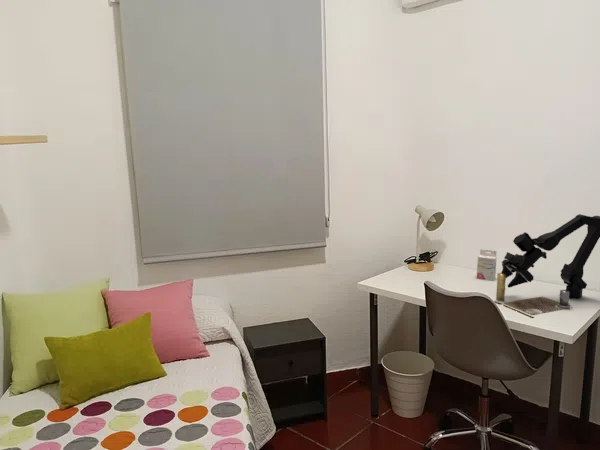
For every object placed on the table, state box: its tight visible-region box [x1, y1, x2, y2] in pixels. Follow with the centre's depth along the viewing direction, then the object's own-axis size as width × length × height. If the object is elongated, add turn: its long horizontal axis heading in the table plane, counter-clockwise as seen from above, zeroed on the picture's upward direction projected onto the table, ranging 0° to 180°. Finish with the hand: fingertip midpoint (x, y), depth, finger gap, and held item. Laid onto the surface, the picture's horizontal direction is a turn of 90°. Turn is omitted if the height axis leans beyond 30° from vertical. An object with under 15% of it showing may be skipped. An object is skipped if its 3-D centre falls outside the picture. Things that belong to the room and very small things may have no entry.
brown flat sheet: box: [502, 296, 573, 319], centre depth 208 cm, size 22×17×1 cm
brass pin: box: [493, 272, 507, 305], centre depth 215 cm, size 5×5×13 cm
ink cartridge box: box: [476, 249, 497, 281], centre depth 251 cm, size 9×5×15 cm, turn 58°
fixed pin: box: [556, 289, 571, 310], centre depth 204 cm, size 5×5×7 cm
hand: (503, 283), depth 215 cm, fingers open, 9 cm apart
